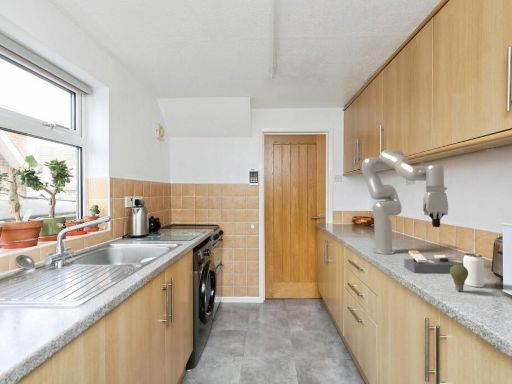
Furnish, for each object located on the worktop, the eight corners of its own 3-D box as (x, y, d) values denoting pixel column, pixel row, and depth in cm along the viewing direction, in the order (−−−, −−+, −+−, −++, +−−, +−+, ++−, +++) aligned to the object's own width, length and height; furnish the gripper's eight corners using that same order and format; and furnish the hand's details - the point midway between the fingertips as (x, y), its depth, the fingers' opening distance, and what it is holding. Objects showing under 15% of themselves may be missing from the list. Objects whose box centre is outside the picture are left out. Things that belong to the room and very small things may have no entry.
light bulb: (446, 288, 106) (446, 262, 106) (460, 288, 107) (459, 262, 107) (458, 294, 101) (457, 266, 101) (472, 293, 101) (472, 266, 101)
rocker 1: (408, 253, 137) (409, 250, 136) (417, 253, 136) (417, 250, 136) (417, 262, 128) (418, 259, 127) (426, 262, 128) (427, 259, 127)
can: (461, 284, 111) (461, 254, 111) (466, 281, 115) (465, 252, 115) (482, 289, 106) (481, 257, 106) (486, 285, 110) (485, 254, 110)
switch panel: (404, 267, 137) (404, 256, 137) (454, 267, 136) (454, 255, 136) (414, 273, 127) (414, 261, 127) (469, 273, 126) (469, 261, 126)
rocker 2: (434, 257, 135) (434, 255, 136) (443, 257, 135) (442, 255, 136) (445, 257, 127) (444, 254, 127) (454, 257, 126) (453, 254, 127)
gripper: (446, 189, 141) (447, 225, 140) (415, 190, 142) (416, 226, 141) (455, 189, 133) (457, 227, 133) (423, 190, 134) (424, 228, 134)
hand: (436, 226), depth 137 cm, fingers closed
